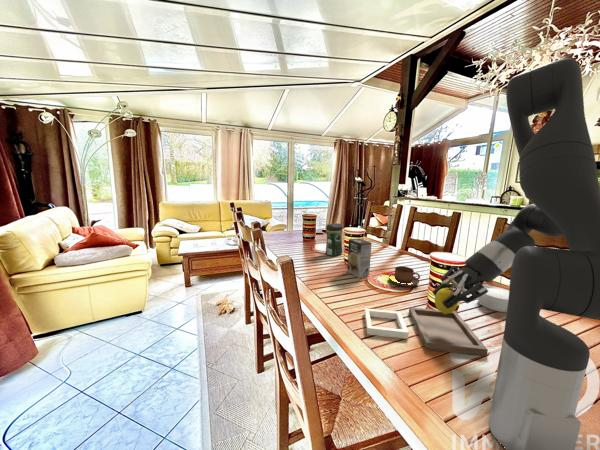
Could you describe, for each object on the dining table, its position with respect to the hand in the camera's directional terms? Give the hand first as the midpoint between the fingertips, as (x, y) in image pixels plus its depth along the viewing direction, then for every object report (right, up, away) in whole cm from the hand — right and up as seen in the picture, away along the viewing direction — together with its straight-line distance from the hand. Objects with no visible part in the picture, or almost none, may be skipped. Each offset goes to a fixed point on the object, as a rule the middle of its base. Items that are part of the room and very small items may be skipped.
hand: (439, 300), depth 68 cm
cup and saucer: (+5, -4, +36) cm, 36 cm away
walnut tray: (+2, -10, +1) cm, 10 cm away
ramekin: (+29, -7, +16) cm, 34 cm away
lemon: (+2, -4, +1) cm, 5 cm away
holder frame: (-14, -9, +4) cm, 17 cm away
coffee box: (-12, -2, +45) cm, 47 cm away
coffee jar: (-20, +4, +76) cm, 78 cm away
